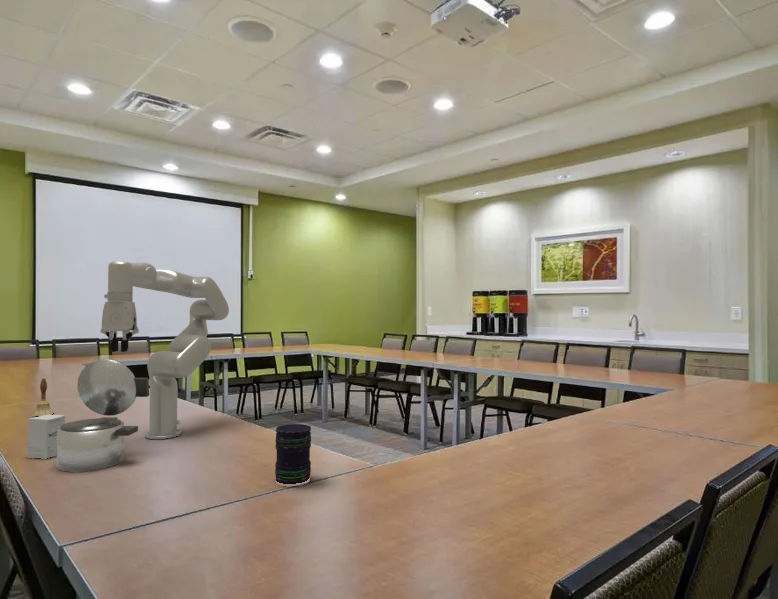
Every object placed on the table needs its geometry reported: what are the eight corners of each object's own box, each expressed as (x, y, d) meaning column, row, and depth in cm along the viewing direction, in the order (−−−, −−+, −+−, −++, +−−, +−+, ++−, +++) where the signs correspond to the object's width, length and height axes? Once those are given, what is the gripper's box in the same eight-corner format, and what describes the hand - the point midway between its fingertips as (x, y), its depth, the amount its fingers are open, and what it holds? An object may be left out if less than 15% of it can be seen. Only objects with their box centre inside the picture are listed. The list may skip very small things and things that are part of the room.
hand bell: (27, 416, 226) (27, 379, 226) (44, 412, 234) (45, 377, 234) (41, 417, 224) (42, 380, 224) (59, 413, 231) (59, 378, 232)
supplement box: (46, 459, 163) (47, 419, 163) (26, 458, 165) (27, 418, 165) (65, 453, 170) (66, 414, 171) (46, 451, 172) (47, 413, 172)
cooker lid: (80, 415, 171) (87, 410, 175) (148, 415, 170) (154, 411, 175) (74, 359, 168) (82, 356, 172) (144, 360, 167) (150, 356, 172)
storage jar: (316, 478, 148) (317, 425, 148) (300, 489, 139) (300, 433, 139) (286, 474, 152) (286, 422, 152) (267, 484, 142) (268, 430, 142)
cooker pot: (81, 453, 171) (82, 416, 171) (148, 453, 171) (148, 417, 171) (42, 471, 152) (43, 430, 152) (117, 472, 151) (118, 431, 152)
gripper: (90, 297, 173) (89, 352, 173) (138, 297, 173) (137, 352, 173) (102, 297, 181) (102, 350, 181) (149, 298, 181) (148, 350, 181)
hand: (119, 351), depth 177 cm, fingers closed
